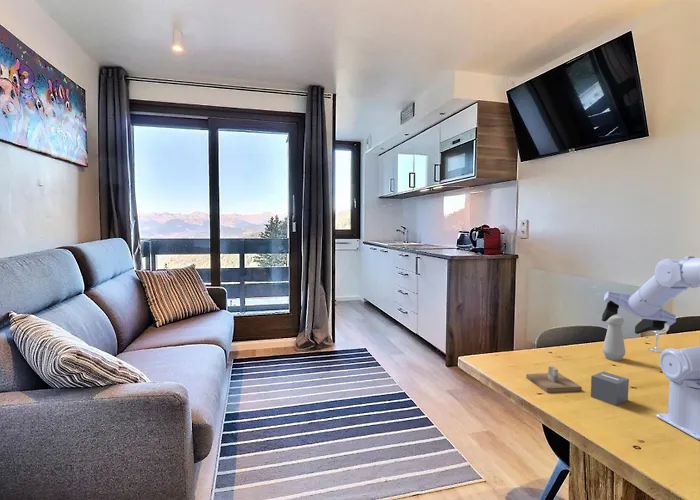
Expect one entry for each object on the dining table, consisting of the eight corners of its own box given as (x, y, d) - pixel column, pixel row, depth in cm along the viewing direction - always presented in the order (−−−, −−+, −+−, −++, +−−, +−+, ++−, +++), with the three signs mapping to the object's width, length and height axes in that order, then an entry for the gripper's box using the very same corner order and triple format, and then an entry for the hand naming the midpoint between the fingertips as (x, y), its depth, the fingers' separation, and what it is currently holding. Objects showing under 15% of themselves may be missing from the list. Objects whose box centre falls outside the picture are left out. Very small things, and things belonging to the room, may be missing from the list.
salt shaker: (628, 362, 114) (631, 318, 113) (607, 361, 115) (609, 317, 114) (619, 356, 120) (621, 314, 119) (598, 354, 121) (600, 313, 120)
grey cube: (627, 400, 89) (628, 378, 89) (615, 405, 87) (616, 383, 86) (602, 391, 94) (603, 371, 94) (590, 396, 91) (591, 375, 91)
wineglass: (640, 348, 127) (642, 312, 127) (653, 346, 129) (655, 310, 128) (659, 353, 122) (661, 316, 121) (672, 352, 124) (674, 314, 123)
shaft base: (581, 390, 95) (582, 373, 94) (546, 392, 94) (547, 375, 93) (558, 376, 103) (558, 361, 103) (526, 377, 103) (526, 362, 102)
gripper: (688, 295, 88) (651, 323, 99) (619, 271, 92) (591, 300, 103) (689, 319, 84) (651, 346, 95) (617, 293, 88) (588, 322, 99)
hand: (619, 324), depth 99 cm, fingers open, 7 cm apart
